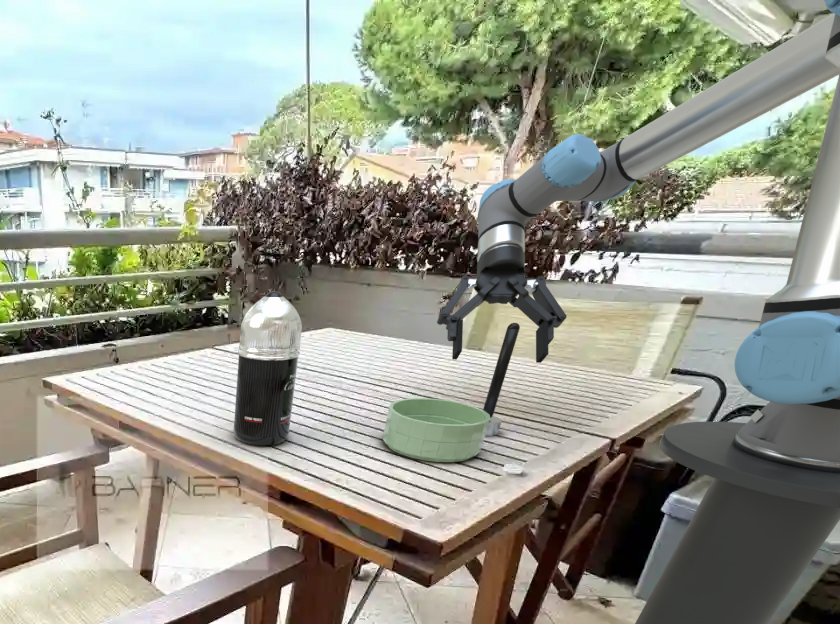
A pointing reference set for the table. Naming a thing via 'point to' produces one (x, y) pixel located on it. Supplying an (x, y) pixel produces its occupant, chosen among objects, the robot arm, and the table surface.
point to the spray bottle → (267, 371)
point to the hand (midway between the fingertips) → (498, 356)
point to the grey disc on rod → (500, 377)
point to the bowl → (435, 429)
